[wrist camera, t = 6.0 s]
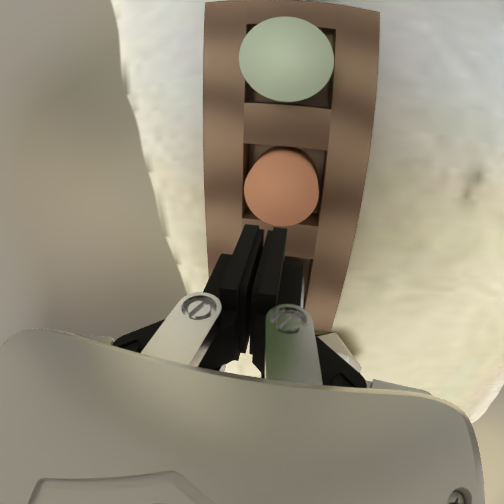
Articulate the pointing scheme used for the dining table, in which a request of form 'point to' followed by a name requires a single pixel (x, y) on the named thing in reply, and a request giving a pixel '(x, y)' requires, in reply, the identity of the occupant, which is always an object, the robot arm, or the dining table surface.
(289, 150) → the button terracotta
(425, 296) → the dining table surface
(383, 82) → the dining table surface
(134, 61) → the dining table surface
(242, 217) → the board
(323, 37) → the button sage
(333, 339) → the die
